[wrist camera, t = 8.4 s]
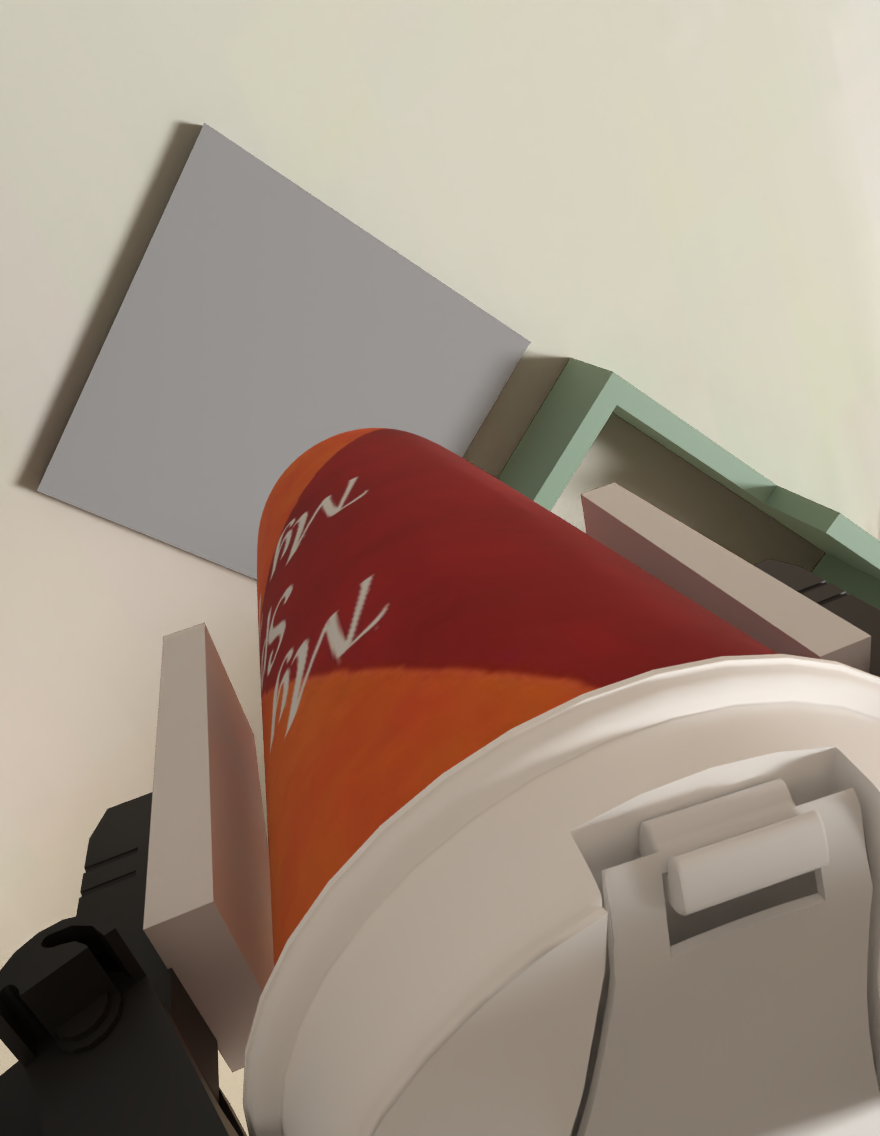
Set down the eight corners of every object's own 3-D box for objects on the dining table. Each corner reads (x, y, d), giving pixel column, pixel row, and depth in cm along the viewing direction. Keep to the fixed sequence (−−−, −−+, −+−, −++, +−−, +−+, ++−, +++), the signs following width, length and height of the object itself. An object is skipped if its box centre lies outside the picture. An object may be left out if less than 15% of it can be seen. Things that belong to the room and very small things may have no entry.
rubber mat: (40, 484, 30) (36, 490, 29) (203, 125, 27) (204, 123, 26) (361, 616, 37) (364, 623, 36) (523, 339, 34) (530, 341, 33)
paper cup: (172, 409, 16) (113, 993, 4) (509, 355, 18) (1225, 637, 5) (248, 709, 19) (348, 1528, 7) (525, 639, 21) (989, 1207, 9)
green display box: (342, 735, 39) (592, 1570, 15) (570, 357, 35) (1480, 664, 10) (637, 830, 49) (1083, 1430, 25) (846, 545, 44) (1652, 934, 20)
